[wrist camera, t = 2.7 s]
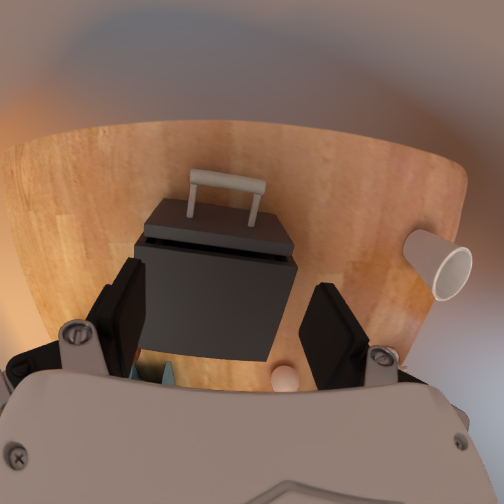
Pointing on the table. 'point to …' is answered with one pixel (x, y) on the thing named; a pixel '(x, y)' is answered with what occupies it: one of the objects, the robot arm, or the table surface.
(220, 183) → the drawer
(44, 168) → the table surface
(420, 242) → the dixie cup
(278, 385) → the egg
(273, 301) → the cabinet
